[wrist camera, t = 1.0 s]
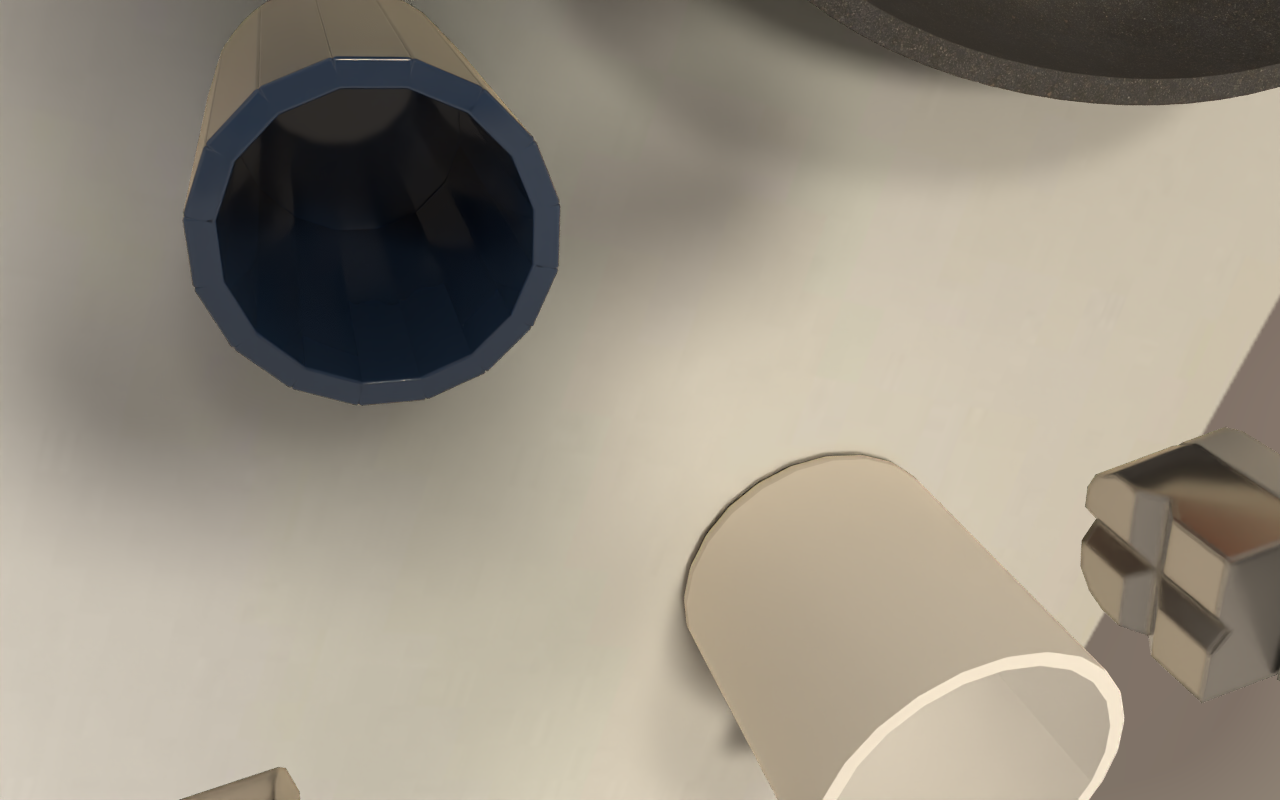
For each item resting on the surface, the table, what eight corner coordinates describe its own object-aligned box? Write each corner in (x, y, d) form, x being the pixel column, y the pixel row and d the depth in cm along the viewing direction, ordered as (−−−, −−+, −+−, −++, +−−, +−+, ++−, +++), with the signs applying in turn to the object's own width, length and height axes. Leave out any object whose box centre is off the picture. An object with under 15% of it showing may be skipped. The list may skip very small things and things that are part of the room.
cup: (156, 44, 23) (103, 152, 15) (411, -60, 23) (479, -5, 16) (291, 277, 26) (302, 457, 19) (511, 181, 27) (606, 319, 19)
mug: (730, 438, 33) (891, 652, 25) (972, 461, 37) (1182, 651, 29) (630, 726, 38) (734, 986, 30) (851, 719, 42) (1000, 946, 34)
